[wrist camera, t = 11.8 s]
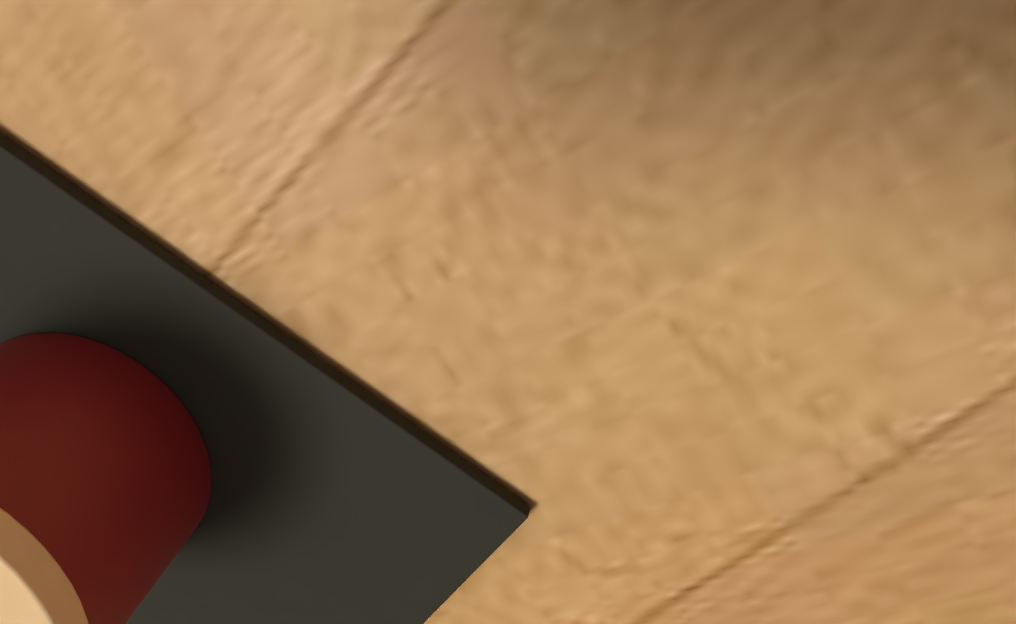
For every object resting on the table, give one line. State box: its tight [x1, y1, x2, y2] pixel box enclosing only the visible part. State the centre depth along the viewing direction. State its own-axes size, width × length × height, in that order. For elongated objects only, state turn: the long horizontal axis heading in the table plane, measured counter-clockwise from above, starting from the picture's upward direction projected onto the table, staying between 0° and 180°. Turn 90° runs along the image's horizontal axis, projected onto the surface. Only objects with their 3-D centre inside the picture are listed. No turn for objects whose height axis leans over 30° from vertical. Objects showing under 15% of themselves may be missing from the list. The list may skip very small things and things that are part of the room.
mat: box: [0, 133, 530, 624], centre depth 23 cm, size 18×12×1 cm, turn 54°
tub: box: [0, 333, 211, 624], centre depth 20 cm, size 7×7×6 cm
